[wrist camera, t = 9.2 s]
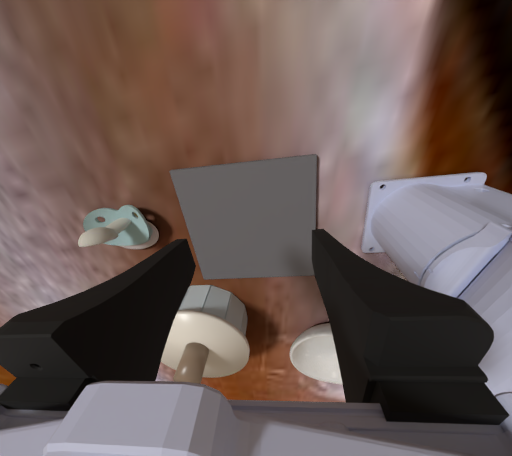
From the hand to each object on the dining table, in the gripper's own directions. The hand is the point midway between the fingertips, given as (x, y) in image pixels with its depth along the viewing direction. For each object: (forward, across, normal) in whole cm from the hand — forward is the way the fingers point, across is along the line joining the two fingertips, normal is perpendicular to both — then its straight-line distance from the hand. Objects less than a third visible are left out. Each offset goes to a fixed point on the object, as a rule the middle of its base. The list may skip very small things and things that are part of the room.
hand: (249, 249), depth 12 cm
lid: (+6, +10, +18) cm, 21 cm away
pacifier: (+11, +16, +3) cm, 19 cm away
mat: (+10, +2, +4) cm, 11 cm away
